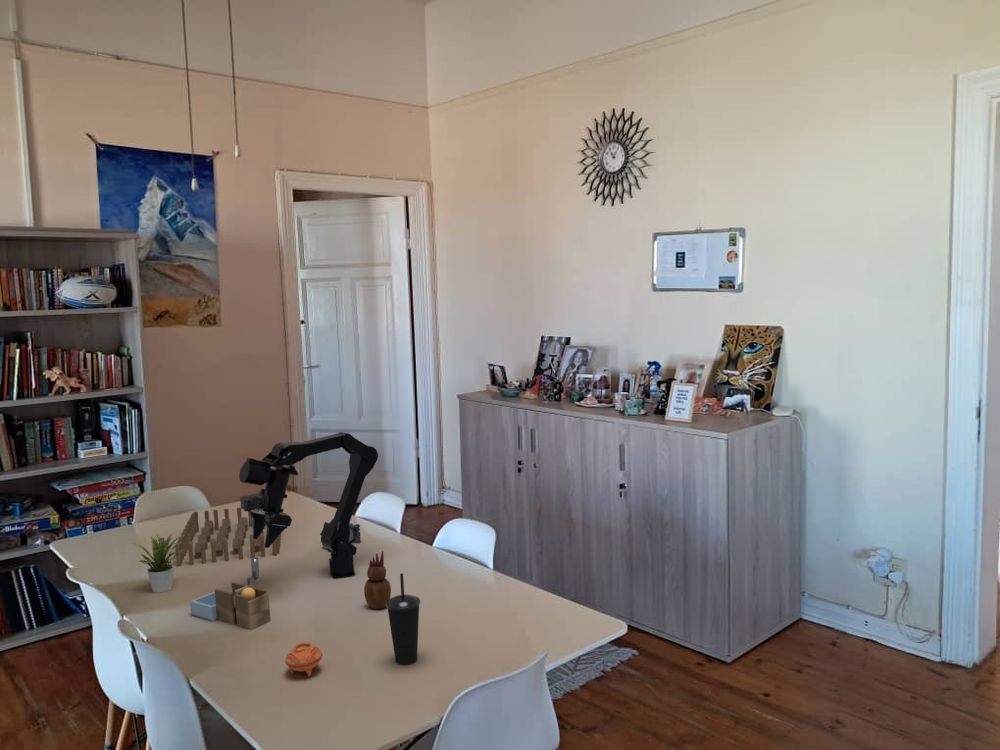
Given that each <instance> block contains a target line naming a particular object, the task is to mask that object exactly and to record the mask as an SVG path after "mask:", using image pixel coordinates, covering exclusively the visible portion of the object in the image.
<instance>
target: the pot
mask: <svg viewBox="0 0 1000 750" xmlns="http://www.w3.org/2000/svg"><path fill="white" fill-rule="evenodd" d="M322 658H323V652H322V650H321V649H320V648H319V647H318V646H316V645H314V644H311V643H310V642H306V641H305V642H300V643H297V644H296V645H295V646H294V647H293V648H292V649H291V650H290V651H289V653H288V654H287V655H286V657H285V664H286V666H287V667H288V670H289V671H290V673H292V674H294V673H295V672H305V673H306V674H307V676H308V677H309V678H310V677H311V676H312V671H313V669H314V668H315V667H316V666H318V665H319V663H320V662H321V660H322Z"/></svg>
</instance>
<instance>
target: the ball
mask: <svg viewBox="0 0 1000 750" xmlns="http://www.w3.org/2000/svg"><path fill="white" fill-rule="evenodd" d="M252 588H253V587H251V588H245V589H244V590H243V591H242V593H241V595H242V596H246V597H250V600H253V599H254V598H255V591H254V589H252Z"/></svg>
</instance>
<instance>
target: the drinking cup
mask: <svg viewBox="0 0 1000 750" xmlns="http://www.w3.org/2000/svg"><path fill="white" fill-rule="evenodd" d="M399 578H400V579H399V580H400V594H399V595H398V594H397V595H395V596H393V597H390V599H389V600H387V602H386V607H385V608H387V613H388V620H389V628H390V632H391V633H390V634H391V639H392V646H393V653H394V658H395V663H396V664H398V665H401V666H402V665H403V666H405V665H406V666H407V665H411V664H414V663H415V662H417V660H418V646H419V645H418V644H419V618H420V605H421V599H420V598H419V596H417V595H412V594H405V584H404V581H405V580H404V573H399Z"/></svg>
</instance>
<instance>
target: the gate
mask: <svg viewBox="0 0 1000 750" xmlns="http://www.w3.org/2000/svg"><path fill="white" fill-rule="evenodd" d="M250 566H251V576H249V577H246V578H247V579H246V580H247V584H246V585H247V586H245V587H242V588H240V589H237V590H235V595H236V594H238V595H241V593H242V591H243V590H244V589H245V588H252V581H256V580H257V581H258V580H260V578H261V577H260V567H259V566H260V565H259V558H258V557H255V558H251V557H250Z"/></svg>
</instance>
